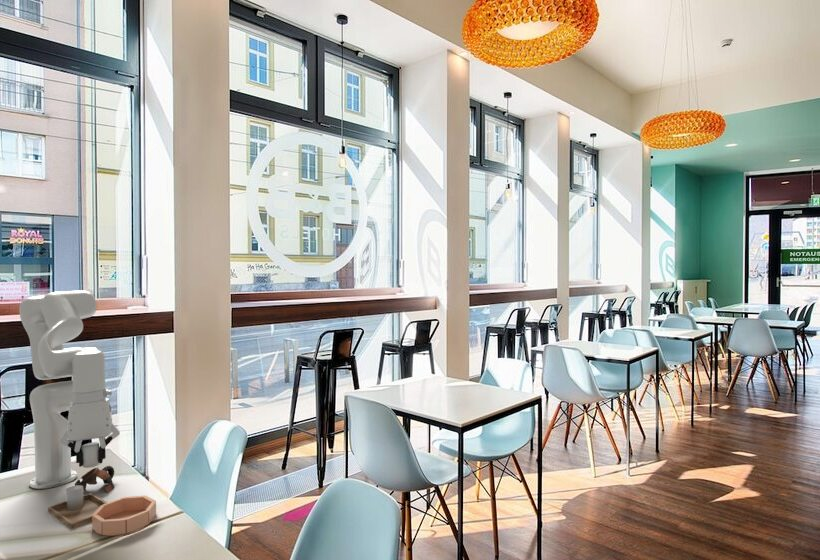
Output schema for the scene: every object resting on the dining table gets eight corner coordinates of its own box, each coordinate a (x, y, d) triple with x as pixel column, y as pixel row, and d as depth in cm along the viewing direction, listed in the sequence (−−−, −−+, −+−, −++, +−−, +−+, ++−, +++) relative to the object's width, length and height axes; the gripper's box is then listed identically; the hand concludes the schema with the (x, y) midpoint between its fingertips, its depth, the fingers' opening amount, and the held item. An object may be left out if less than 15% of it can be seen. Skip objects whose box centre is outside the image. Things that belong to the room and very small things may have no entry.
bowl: (85, 526, 135) (84, 510, 135) (139, 506, 146) (138, 491, 146) (109, 543, 126) (108, 526, 126) (164, 520, 138) (164, 505, 138)
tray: (48, 513, 142) (48, 507, 142) (91, 498, 151) (91, 492, 151) (71, 531, 132) (71, 524, 132) (116, 514, 141) (116, 507, 141)
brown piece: (105, 500, 151) (88, 479, 149) (81, 511, 153) (64, 491, 151) (128, 474, 163) (113, 454, 161) (106, 485, 164) (90, 465, 162)
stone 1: (64, 508, 144) (64, 489, 144) (80, 502, 147) (79, 484, 147) (70, 512, 142) (69, 492, 141) (86, 506, 145) (85, 487, 145)
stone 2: (83, 463, 139) (82, 444, 139) (100, 461, 141) (99, 441, 141) (81, 468, 135) (81, 448, 135) (99, 465, 137) (98, 445, 137)
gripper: (125, 390, 145) (126, 453, 145) (54, 397, 137) (56, 464, 137) (124, 395, 138) (126, 462, 139) (49, 404, 130) (51, 474, 131)
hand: (91, 462), depth 138 cm, fingers closed on stone 2, 4 cm apart
